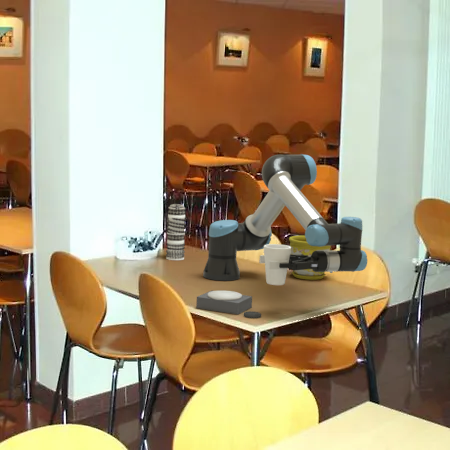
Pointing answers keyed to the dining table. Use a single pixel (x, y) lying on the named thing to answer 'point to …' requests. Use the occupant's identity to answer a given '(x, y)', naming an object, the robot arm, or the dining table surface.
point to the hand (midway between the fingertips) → (264, 262)
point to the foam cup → (276, 254)
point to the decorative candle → (176, 232)
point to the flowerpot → (302, 247)
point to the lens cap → (252, 314)
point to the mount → (224, 302)
